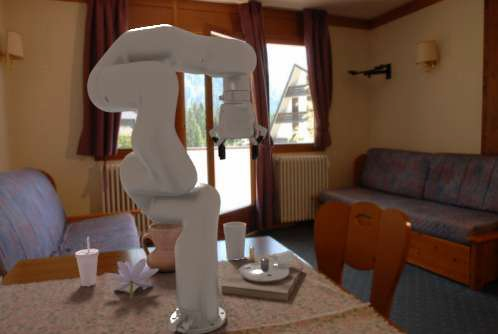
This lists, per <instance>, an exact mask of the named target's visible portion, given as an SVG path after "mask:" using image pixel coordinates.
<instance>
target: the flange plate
mask: <svg viewBox="0 0 498 334" xmlns="http://www.w3.org/2000/svg"><path fill="white" fill-rule="evenodd" d="M291 262H293V251H290V250H287V251H282V252H280V253H277V254H273V261H269V269H267V270H263V269H261V262H254V263H249V264H247V265H244V264H243V265H244V266H243V267H242V268H241V277H242V278H243V279H244V280H246V281H249V282H253V283H261V284H269V283H277V282H281V281H283V280H285V279H287V278H288V277H289V268H288V267H287V266H286V265H284V264H290V263H291Z"/></svg>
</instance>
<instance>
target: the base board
mask: <svg viewBox="0 0 498 334" xmlns="http://www.w3.org/2000/svg"><path fill="white" fill-rule="evenodd" d="M255 262H261V260H260V261H259V260H255ZM249 263H250V259H248V260H246V262H245V263H243V264H242V265H241V266H240V267H239V268H238V269H237V270H236V271H235V272H234V273H233V274H232V275H231V276H230V277H229V278H228V279H227V280H226V281H225V282H223V284H222V285H221V293H222V294H228V295H237V296H243V297H244V296H245V297H251V298H253V297H254V298H261V299H268V300H269V299H270V300H277V301H278V300H279V301H286V302H287V301H288V300H289V298H290V296H291V294H292V293H293V291H294V288H295V286H296V285H297V283H298V281H299V279H300V278H299V276H300V274H301V272H302V270H304V269H303V266H304V265H303V264H295V263H293V264H292V263H286V264H284V265H286V266H287V267H288V268H289V277H288V278H287V279H285V280H283V281H281V282H277V283H269V284H261V283H253V282H249V281H246V280H244V279H243V278H242V277H241V268H242V267H243V266H244V265H247V264H249ZM302 273H303V272H302ZM301 275H302V274H301ZM300 277H301V276H300ZM298 278H299V279H298ZM297 280H298V281H297Z"/></svg>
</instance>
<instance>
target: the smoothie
mask: <svg viewBox="0 0 498 334" xmlns="http://www.w3.org/2000/svg"><path fill="white" fill-rule="evenodd" d="M86 244H87V245H86V246H87V248H86V249H81V250H78V251H76V252H75V254H74V257H75V258H76V262H77V267H78V273H79V277H80V282H81V283H80V284H81V286H82V287H84V286H88V287H92V286H94V285H96V282H97V269H98V261H99V259H98V258H99V257H98V256H99V254H100V250H99V249H97V248H90V246H91V245H90V236H87V237H86ZM91 285H92V286H91Z"/></svg>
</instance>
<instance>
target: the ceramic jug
mask: <svg viewBox="0 0 498 334" xmlns="http://www.w3.org/2000/svg"><path fill="white" fill-rule="evenodd" d="M183 228H184V226H183V225H178V224H165V223H157V222H154V223H151V224H150V225H148V231H149V232H146V233H144V234H143V235H142V237H141V243H140V244H141V246H142V249H143V252H144V253H145V256H146V258H145V260H146V263H145V264H146V265H147V267H150V269H159V270H158V271H157V272H163V273H168V272H176V270H175V244H176V241H177V239H178V237H179V235H180V234H181V232H182V231H183ZM147 238H148V239H149V240H151V241H152V244H153V245H154V249H153V250H152V251H150V250H149V249H148V246H147Z"/></svg>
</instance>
